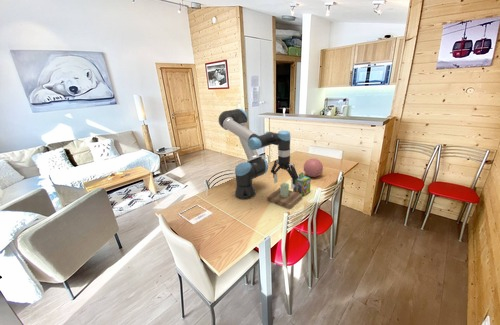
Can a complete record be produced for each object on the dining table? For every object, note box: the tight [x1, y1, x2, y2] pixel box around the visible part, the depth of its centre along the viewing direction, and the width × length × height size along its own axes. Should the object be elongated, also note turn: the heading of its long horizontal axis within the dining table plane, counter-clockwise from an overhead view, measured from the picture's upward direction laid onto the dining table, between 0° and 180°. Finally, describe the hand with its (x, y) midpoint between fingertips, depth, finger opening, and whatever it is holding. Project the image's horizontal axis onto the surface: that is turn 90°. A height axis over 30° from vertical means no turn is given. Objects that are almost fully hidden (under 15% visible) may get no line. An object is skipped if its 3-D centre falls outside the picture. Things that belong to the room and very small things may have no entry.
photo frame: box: [178, 203, 213, 226], centre depth 137 cm, size 15×1×18 cm
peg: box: [279, 182, 290, 198], centre depth 143 cm, size 4×4×12 cm
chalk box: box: [292, 172, 312, 197], centre depth 151 cm, size 9×9×15 cm
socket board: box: [266, 187, 303, 210], centre depth 145 cm, size 18×16×4 cm
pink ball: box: [303, 158, 324, 178], centre depth 176 cm, size 15×20×15 cm
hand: (284, 185), depth 142 cm, fingers open, 13 cm apart
